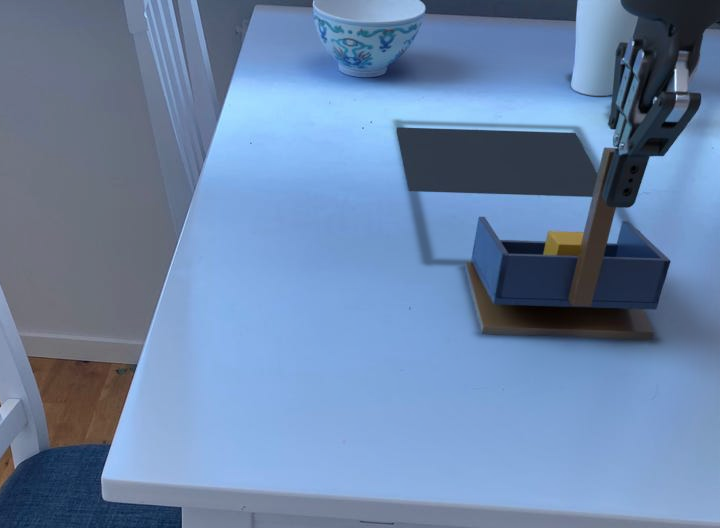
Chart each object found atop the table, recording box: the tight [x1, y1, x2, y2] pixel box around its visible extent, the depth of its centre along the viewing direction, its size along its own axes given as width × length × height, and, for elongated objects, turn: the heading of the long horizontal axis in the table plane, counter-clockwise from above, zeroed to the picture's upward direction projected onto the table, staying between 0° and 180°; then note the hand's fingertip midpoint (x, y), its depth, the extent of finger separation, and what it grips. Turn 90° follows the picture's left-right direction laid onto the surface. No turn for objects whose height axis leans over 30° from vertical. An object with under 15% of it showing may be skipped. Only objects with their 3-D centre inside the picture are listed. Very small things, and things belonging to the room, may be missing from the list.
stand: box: [464, 261, 655, 340], centre depth 87 cm, size 15×12×2 cm
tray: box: [470, 147, 672, 311], centre depth 81 cm, size 14×14×12 cm
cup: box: [570, 0, 638, 97], centre depth 122 cm, size 10×10×14 cm
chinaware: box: [312, 0, 427, 78], centre depth 128 cm, size 15×15×8 cm
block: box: [543, 230, 584, 256], centre depth 82 cm, size 4×4×4 cm
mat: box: [396, 126, 598, 198], centre depth 104 cm, size 22×36×1 cm, turn 178°
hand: (616, 203), depth 72 cm, fingers closed
